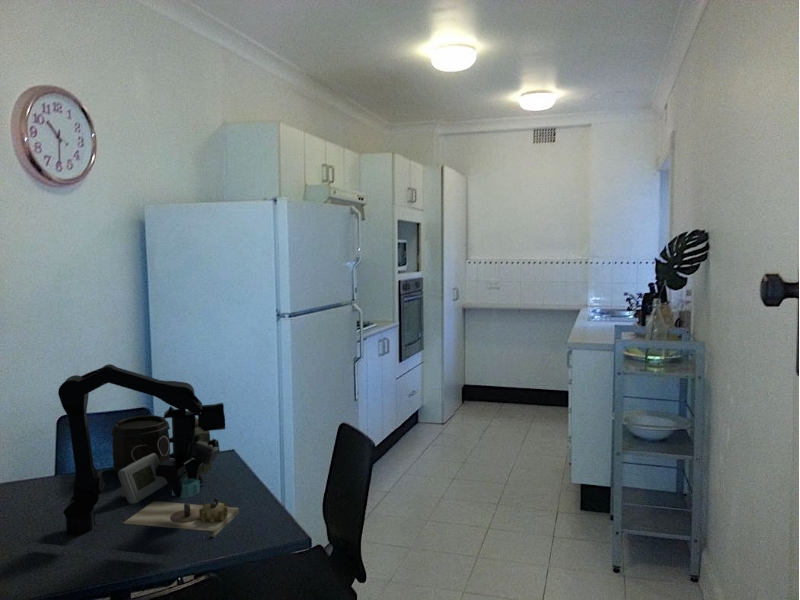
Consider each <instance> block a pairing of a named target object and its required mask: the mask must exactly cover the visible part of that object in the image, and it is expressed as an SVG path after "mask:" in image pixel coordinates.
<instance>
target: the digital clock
mask: <svg viewBox="0 0 800 600" xmlns="http://www.w3.org/2000/svg"><path fill="white" fill-rule="evenodd" d="M158 464H160V461H159V458H158V456H157V454H155V453H152V454H150V455H148V456H145V457H143V458H141V459H139V460H137V461H135V462H133V463H131V464H129V465H128V466H127V467H125V468H123V469H121V470H120V471H119V472H118V476H117V477H118V479H119V481H120V484H121V489H120V490H121V497H122V498H126V500H127V503H128V504H130V505H132V504H137V503H140V501H142V500H143V499H145V498H146V497H148V496H150V495H152V494H154V493H155V492H156V491H159V490H160V489H161V488H163V487H164V486H166V485H168V482H167V481H166V480H165V478H164V477H160V476H155V467H156V466H157V465H158Z"/></svg>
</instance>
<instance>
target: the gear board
mask: <svg viewBox="0 0 800 600" xmlns="http://www.w3.org/2000/svg"><path fill="white" fill-rule="evenodd" d="M239 510H240V508H239V507H230V506H228V505H226V503H224V502H222V503H221V502H219V497H214V498H213V501H211V502H210V503H207V504H193V503H182V502H169V501H168V502H166V501H154V500H153V501H152V502H151V503H150V504H148V505H146V506H145V507H143V508H142V509H141V510H139V511H137V512H136V513H135V514H133V515H132V516H131V517H129V518H128V519H126V520H125V521H123V522H122V524H126V525H136V526H139V525H140V526H147V527H148V526H150V527H160V528H161V527H162V528H173V529H182V530H192V531H193V530H195V531H205V532H206V531H207V532H209V533H208V534H207V535H206V537H209V538H210V537H211V538H214V537H216V535H218V534H219V533H220V532H221V531H222V530H223V529H224V528H225V527H226V526H228V524H230V522H232V520H234V519H235V518H236V517H237V516H238V515H239V514H240V511H239Z"/></svg>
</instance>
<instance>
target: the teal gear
mask: <svg viewBox="0 0 800 600" xmlns="http://www.w3.org/2000/svg"><path fill="white" fill-rule="evenodd" d="M200 491H201V482H200V481H199V480H198V479H197V480H196V479H193V478H189V479H188V478H187V477H186V478H183V480H182V493H181V497H179V498H189V497H190V498H191V497H192V496H193V497H194V496H195V495H198V494H199V493H200ZM171 495H172V496H175V497H176V495H175V494H174V492H173V490H172V489H171Z"/></svg>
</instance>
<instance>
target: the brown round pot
mask: <svg viewBox="0 0 800 600" xmlns="http://www.w3.org/2000/svg"><path fill="white" fill-rule="evenodd" d="M170 429H171V428H170V424H169V421H167V420H166V418H164V416H159V415H138V416H132V417H126V418H123V419H121V420H120V419H119V420H118V421H116V422H115V423H114V425H113V426H112V427H111V434H110V435H111V437H112V443H111V444H112V445H111V448H112V449H111V450H112V461H113V463H112V471H113V472H114V473H115V474H116V476H117V477H119V476H118V472H119V471H120V470H121V469H123V468H125V467H127V466H128V465H129V464H131V463H133V462H135V461H137V460H139V459H141V458H143V457H145V456H148V455H150V454H152V453H155V454H157V456H158V458H159V461H160V463H162V462H163V461H165V460H171V461H172V458H170V454H171V443H169V438H170V435H169V434H170V433H169V430H170Z"/></svg>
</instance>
